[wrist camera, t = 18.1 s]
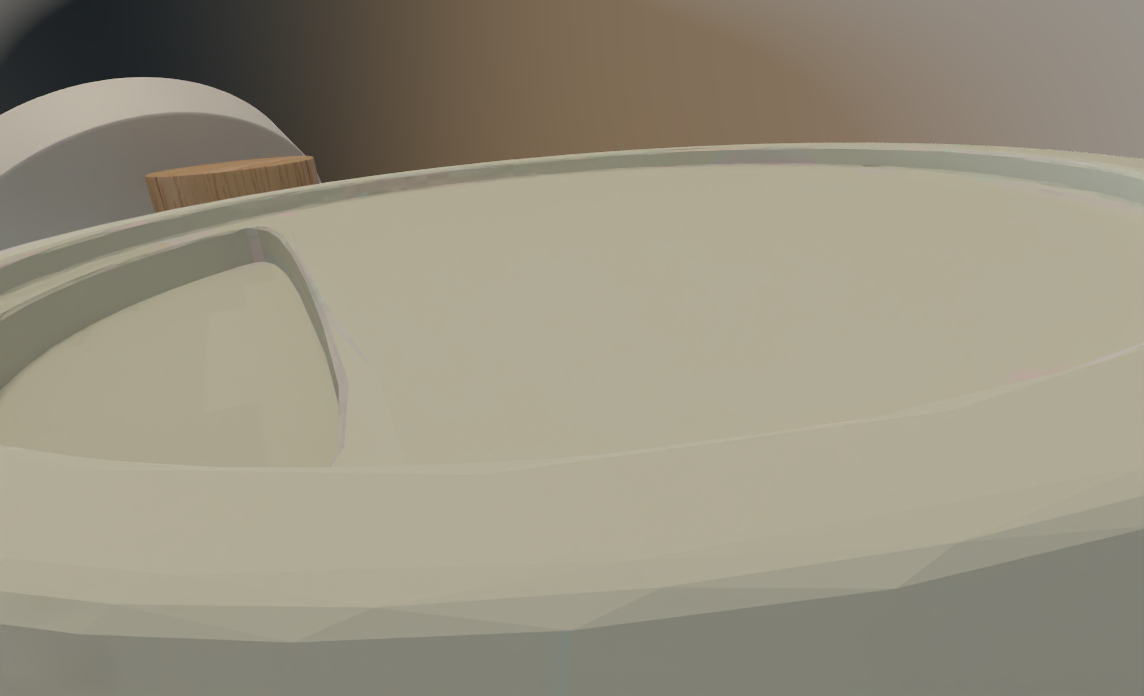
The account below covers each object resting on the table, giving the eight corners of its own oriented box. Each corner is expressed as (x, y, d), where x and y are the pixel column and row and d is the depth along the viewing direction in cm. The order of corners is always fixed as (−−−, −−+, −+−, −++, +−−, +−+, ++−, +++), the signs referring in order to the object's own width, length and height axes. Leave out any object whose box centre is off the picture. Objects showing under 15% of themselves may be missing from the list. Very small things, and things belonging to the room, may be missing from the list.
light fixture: (259, 1020, 21) (430, 906, 9) (-39, 511, 27) (-191, 13, 15) (535, 723, 30) (814, 459, 18) (266, 392, 37) (331, 21, 24)
